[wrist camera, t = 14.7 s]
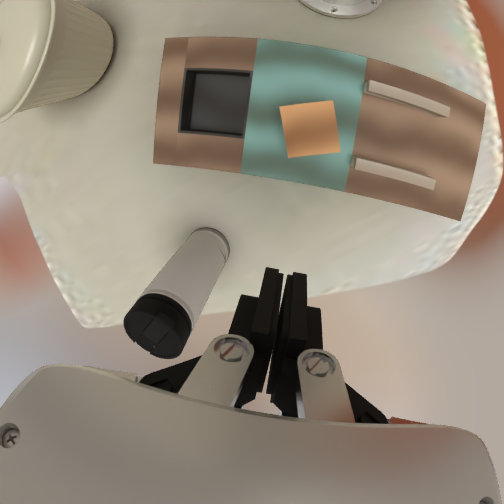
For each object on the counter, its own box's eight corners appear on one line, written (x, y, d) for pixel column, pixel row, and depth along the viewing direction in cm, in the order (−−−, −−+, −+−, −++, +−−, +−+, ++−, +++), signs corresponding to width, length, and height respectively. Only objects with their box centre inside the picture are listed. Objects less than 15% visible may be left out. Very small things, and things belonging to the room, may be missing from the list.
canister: (82, -5, 27) (-14, -29, 8) (156, 24, 29) (50, -20, 10) (34, 86, 34) (-63, 100, 16) (95, 130, 37) (-19, 159, 18)
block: (282, 108, 29) (279, 106, 25) (327, 103, 28) (332, 100, 24) (289, 152, 31) (288, 157, 27) (334, 147, 30) (340, 152, 26)
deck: (177, 44, 31) (154, 33, 24) (470, 103, 27) (498, 104, 21) (166, 158, 38) (141, 167, 31) (447, 211, 35) (470, 229, 28)
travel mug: (240, 244, 42) (196, 343, 24) (213, 274, 44) (163, 374, 27) (204, 216, 41) (135, 298, 23) (180, 248, 43) (111, 336, 26)
